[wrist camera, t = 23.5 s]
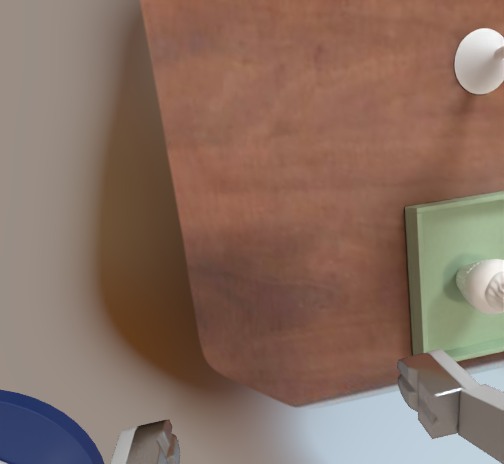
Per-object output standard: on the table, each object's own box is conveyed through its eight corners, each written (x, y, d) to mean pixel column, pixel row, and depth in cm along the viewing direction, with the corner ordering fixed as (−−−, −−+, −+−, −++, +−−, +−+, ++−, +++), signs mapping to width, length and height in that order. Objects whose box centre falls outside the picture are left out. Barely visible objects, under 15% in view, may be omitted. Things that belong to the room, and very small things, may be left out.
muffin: (499, 263, 35) (567, 281, 28) (475, 308, 36) (536, 337, 29) (458, 244, 34) (518, 258, 27) (434, 291, 35) (487, 317, 28)
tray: (515, 336, 38) (532, 345, 36) (412, 358, 37) (424, 368, 34) (516, 188, 35) (535, 188, 33) (404, 206, 33) (416, 208, 31)
